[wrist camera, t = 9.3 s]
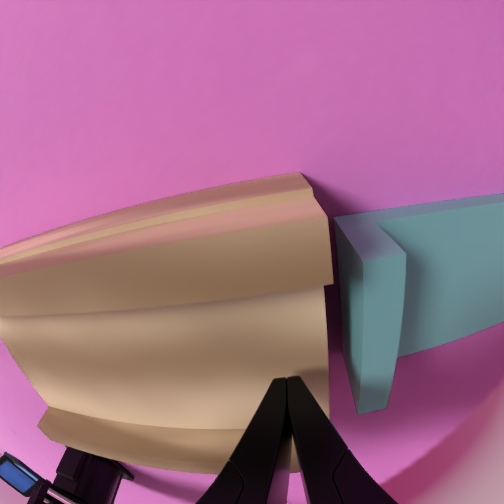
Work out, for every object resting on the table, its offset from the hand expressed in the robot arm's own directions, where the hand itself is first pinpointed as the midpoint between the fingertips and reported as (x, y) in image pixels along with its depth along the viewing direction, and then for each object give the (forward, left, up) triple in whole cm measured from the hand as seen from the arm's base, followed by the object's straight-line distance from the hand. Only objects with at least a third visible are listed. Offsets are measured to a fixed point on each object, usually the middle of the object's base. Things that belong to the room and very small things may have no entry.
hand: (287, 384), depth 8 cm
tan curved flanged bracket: (0, +7, -4) cm, 8 cm away
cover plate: (+1, -7, -4) cm, 8 cm away
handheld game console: (-50, +74, -4) cm, 89 cm away
